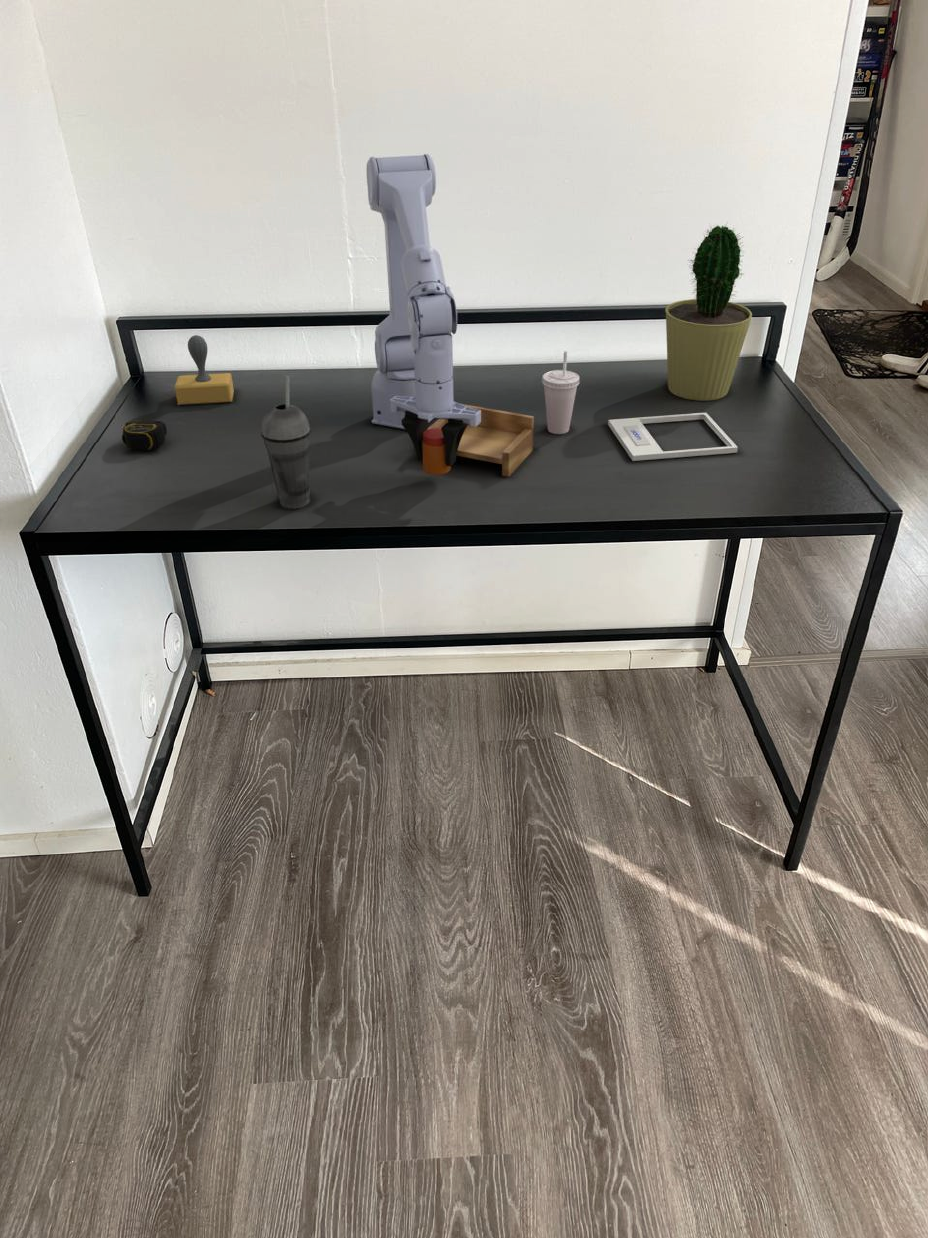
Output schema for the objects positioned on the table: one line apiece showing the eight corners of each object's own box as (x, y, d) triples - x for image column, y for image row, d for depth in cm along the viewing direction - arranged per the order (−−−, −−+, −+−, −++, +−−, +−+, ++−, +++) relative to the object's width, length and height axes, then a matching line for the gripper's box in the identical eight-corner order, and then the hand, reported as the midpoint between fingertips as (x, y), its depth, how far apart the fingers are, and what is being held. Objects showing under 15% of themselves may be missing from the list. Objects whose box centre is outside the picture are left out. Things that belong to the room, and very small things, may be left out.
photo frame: (608, 418, 167) (706, 411, 169) (608, 424, 167) (705, 417, 169) (633, 454, 155) (738, 446, 157) (632, 460, 155) (737, 452, 158)
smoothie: (574, 438, 163) (579, 359, 155) (537, 435, 164) (540, 357, 156) (578, 423, 168) (583, 346, 160) (542, 420, 169) (545, 343, 161)
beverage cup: (273, 491, 148) (255, 367, 137) (319, 489, 149) (306, 365, 137) (269, 514, 142) (250, 386, 131) (317, 511, 143) (303, 384, 131)
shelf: (419, 459, 157) (418, 424, 153) (447, 434, 165) (446, 401, 161) (508, 477, 151) (509, 441, 148) (532, 450, 159) (534, 416, 156)
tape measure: (169, 437, 165) (165, 416, 163) (162, 454, 160) (158, 433, 157) (130, 438, 165) (125, 418, 163) (121, 455, 159) (116, 435, 157)
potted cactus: (655, 372, 188) (673, 211, 170) (735, 375, 186) (761, 213, 168) (657, 403, 175) (677, 232, 158) (743, 406, 173) (772, 234, 156)
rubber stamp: (234, 390, 182) (224, 329, 175) (231, 402, 177) (221, 339, 170) (181, 393, 181) (169, 331, 174) (177, 405, 176) (165, 342, 169)
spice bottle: (418, 471, 149) (416, 436, 145) (430, 460, 152) (429, 425, 148) (443, 476, 147) (442, 441, 144) (455, 465, 150) (454, 430, 147)
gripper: (378, 379, 140) (383, 462, 148) (467, 393, 135) (467, 479, 143) (400, 363, 145) (404, 444, 153) (486, 377, 140) (486, 460, 148)
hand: (436, 460), depth 149 cm, fingers closed on spice bottle, 4 cm apart
